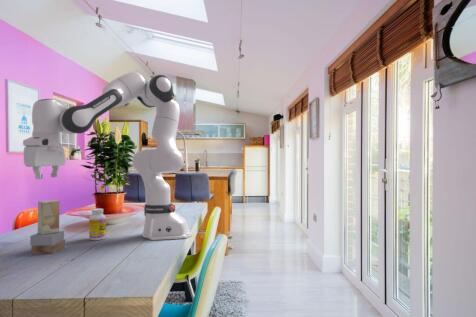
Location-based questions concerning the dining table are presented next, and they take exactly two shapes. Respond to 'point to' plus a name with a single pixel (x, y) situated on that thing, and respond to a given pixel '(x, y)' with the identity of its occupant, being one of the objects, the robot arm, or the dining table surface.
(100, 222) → the supplement bottle
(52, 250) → the tower base
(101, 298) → the dining table surface
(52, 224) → the skincare box
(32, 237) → the tower top
